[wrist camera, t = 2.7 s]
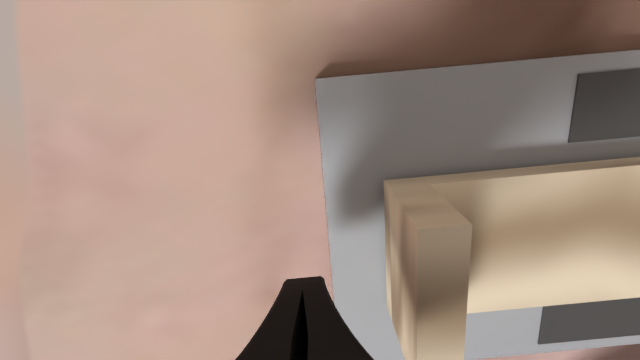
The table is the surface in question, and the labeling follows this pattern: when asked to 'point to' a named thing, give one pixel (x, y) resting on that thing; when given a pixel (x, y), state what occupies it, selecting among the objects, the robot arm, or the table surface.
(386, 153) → the plate
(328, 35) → the table surface
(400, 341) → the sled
